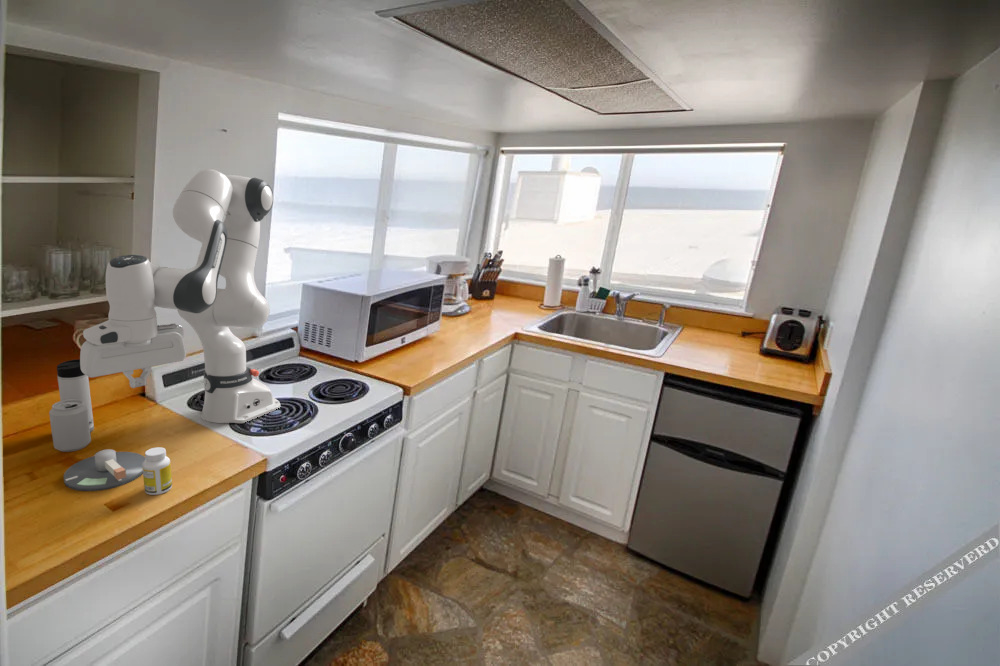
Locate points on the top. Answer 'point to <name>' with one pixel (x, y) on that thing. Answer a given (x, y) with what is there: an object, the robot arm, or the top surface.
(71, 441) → the can
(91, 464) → the dial plate
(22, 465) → the top surface
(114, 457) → the needle
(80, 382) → the travel mug
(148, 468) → the supplement bottle
